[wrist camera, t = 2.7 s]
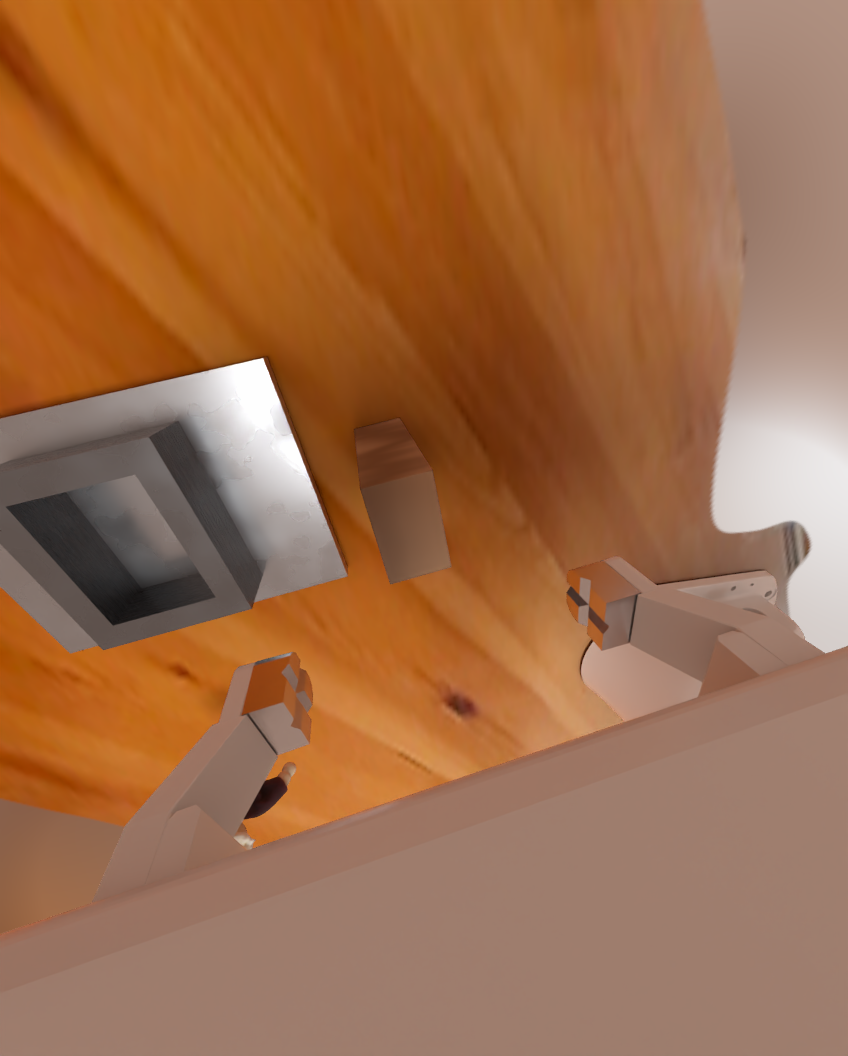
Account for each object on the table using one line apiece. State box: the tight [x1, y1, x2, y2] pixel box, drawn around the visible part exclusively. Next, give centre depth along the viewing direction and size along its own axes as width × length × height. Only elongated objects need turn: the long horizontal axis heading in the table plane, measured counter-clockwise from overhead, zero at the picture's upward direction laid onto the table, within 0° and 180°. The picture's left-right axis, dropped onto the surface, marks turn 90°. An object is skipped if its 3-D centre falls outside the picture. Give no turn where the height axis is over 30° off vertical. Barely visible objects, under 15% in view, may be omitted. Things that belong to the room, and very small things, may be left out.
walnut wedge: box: [354, 418, 451, 584], centre depth 20 cm, size 3×5×10 cm, turn 11°
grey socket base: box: [0, 357, 348, 653], centre depth 21 cm, size 20×15×5 cm
